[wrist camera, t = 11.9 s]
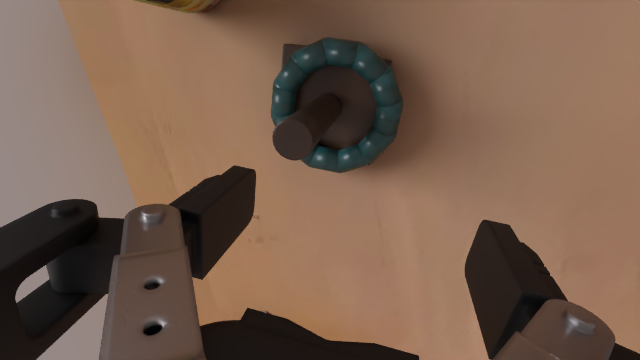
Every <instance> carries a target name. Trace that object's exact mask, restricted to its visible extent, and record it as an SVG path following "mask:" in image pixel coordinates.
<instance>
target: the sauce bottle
mask: <svg viewBox="0 0 640 360" xmlns="http://www.w3.org/2000/svg"><path fill="white" fill-rule="evenodd" d="M134 1H139V2H143V3H147V4H151V5H155V6H159V7H163V8H168V9H172V10H176V11H181V12H186V13H194V12H204V11H208V10H210V9H211V8H213V7H214V6H215V5H216V4H217V3H218V2H219V0H134Z"/></svg>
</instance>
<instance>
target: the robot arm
mask: <svg viewBox="0 0 640 360" xmlns="http://www.w3.org/2000/svg"><path fill="white" fill-rule="evenodd" d="M255 186H256V172H255V170H254V169H249V168H244V167H240V166H233V167H231V168H230V169H229V170H227V171H226V172H225V173H223V174H222V175H216V176H213V177H210V178H207V179H205V180H203V181H202V182H200V183H199V184H198V185H197V186H195V187H193V188H192V189H190V191H188V192H186V193H185V194H183V195H182V196H180V197H179V198H178V199H176V200H175V201H173V202H172V203H170V204H169V205H165V204H150V205H144V206H141V207H138V208H135V209H133V210H132V211H130V212H129V213H128V214H127V215H126V216H125V219H120V218H99V216H98V210H97V206H96V204H95V203H93V202H91V201H88V200H82V199H70V200H62V201H58V202H54V203H50V204H47V205H45V206H43V207H41V208H39V209H37V210H35V211H33V212H31V213H29V214H27V215H25V216H23V217H21V218H19V219H17V220H15V221H13V222H11V223H9V224H7V225H5V226H3V227H1V228H0V360H36V359H37V358H38V357H39V356H40V355H41V354H42V353H44V352H45V351H46V350H47V349H48V348H49V347H50V346H51V345H52V344H53V343H54V342H55V341H56V340H57V339H59V337H61V336H62V335H63V333H65V332H66V331H67V330H68V329H69V328H70V327H71V326H72V325H73V324H74V323H76V321H78V319H80V318H81V317H82V316H83V315H84V314H85V313H86V312H87V311H88V310H89V309H90V308H92V307H93V306H94V305H95V304H96V303H97V302H98V301H99V300H100V299H101V298H102V297H103V296H104V295H105V294H108V300H107V306H106V313H105V320H104V327H103V334H102V340H101V347H100V354H99V360H419V356H418V355H414V354H411V353H407V352H404V351H400V350H396V349H393V348H389V347H386V346H382V345H379V344H375V343H360V342H343V341H330V340H326V339H324V338H322V337H320V336H318V335H316V334H314V333H313V332H311V331H309V330H307V329H305V328H303V327H301V326H299V325H298V324H296V323H294V322H292V321H290V320H288V319H286V318H282V317H279V316H275V315H271V314H268V313H264V312H261V311H257V310H254V309H250V308H247V310H246V311H245V313H244V315H243V317H242V318H241V320H230V321H220V322H214V323H210V324H206V325H202V326H200V325H199V318H198V312H197V306H196V299H195V293H194V286H193V280H192V277H194V278H198V279H201V280H202V279H203V278H204V277H205V276H206V275H207V273H208V272H209V271H210V270H211V269H212V267H213V266H214V265H215V264H216V263H217V261H218V260H219V259H220V258H221V257H222V255H223V254H224V253H225V252H226V251H227V249H228V248H229V247H230V246H231V245H232V243H233V242H234V241H235V240H236V239H237V237H238V236H239V235H240V234H241V233H242V231H243V230H244V229H245V228H246V227H247V225H248V224H249V223H250V221H251V219H252V216H253V212H254V203H255ZM45 265H46V266H47V270H48V274H49V278H50V279H49V280H48V281H46V282H45V283H44V284H42V285H41V286H40V287H38V288H37V289H35V290H34V291H33V292H31V293H30V294H29V295H27V296H26V297H25V298H23V299H22V300H21V301H19V302H18V303H16V301H15V295H16V291H17V289H18V287H19V286H20V284H21V283H22V282H23V281H24V280H25V279H26V278H27V277H29V276H30V275H31V274H33V273H34V272H36V271H37V270H39V269H40V268H42V267H43V266H45ZM465 277H466V281H467V284H468V288H469V291H470V295H471V298H472V302H473V305H474V308H475V312H476V315H477V319H478V322H479V326H480V329H481V333H482V336H483V340H484V343H485V347H486V350H487V353H488V357H489V359H491V360H640V354H639V353H637V352H634V351H632V350H630V349H628V348H625V347H623V346H621V345H619V344H617V343H615V336H614V334H613V332H612V331H611V329H610V328H609V327H608V326H607V325H606V324H605V323H604V322H603V321H602V320H601V319H600V318H598V317H597V316H596V315H594V314H593V313H591V312H590V311H588V310H586V309H585V308H583V307H581V306H579V305H576V304H574V303H571V302H568V300H567V299H566V297H565V296H564V294H563V293H562V291H561V290H560V288H559V287H558V285H557V283H556V282H555V280H554V279H553V277H552V276H550V273H549V271H548V270H547V268H546V267H544V264H543V262H542V261H541V259H540V258H539V256H538V255H537V254H536V253H535V252H534V251H533V250H532V249H530V248H529V247H528V246H527V245H526V244H524V243H522V242H520V241H519V240H518V238H517V236H516V235H515V233H514V231H513V230H512V228H511V227H510V225H507V224H503V223H498V222H493V221H489V220H483V221H482V222H481V223H480V225H479V228H478V230H477V233H476V236H475V238H474V241H473V243H472V246H471V248H470V251H469V254H468V256H467V259H466V263H465Z"/></svg>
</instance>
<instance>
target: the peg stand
mask: <svg viewBox="0 0 640 360" xmlns="http://www.w3.org/2000/svg"><path fill="white" fill-rule="evenodd" d="M304 47H306V46H301V45H295V44H284V46H283V58H282V68H283V67H284V65H285V64H286V62H287V61H288V59H289V58H290V56H291V55H292V54H293V53H294V52H295V51H297V50H299V49H302V48H304ZM382 59H383V60H384V61H385V62H387V63H388V64H389V65H390V66H391V63H392V60H391V59H384V58H382ZM281 70H282V69H281ZM376 109H377V104H376V101H375V98H374V95H373V92H372V89H371V87H370V84H369V83H368V82H367V81H366V80H364V79H363V78H362V77H361V76H360V75H359V74H357V73H356V72H355V71H354V70H353V69H350V68H343V67H337V66H331V65H329V66H327V67H324V68H322V69H320V70H317V71H315V72H313V73H310V74H309V75H308V76H307V78H306V79H305V81H304V82H303V83H302V85H301V86H300V88H299V89H298V90H297V93H296V103H295V113H293V114H292V115H290V116H289V117H287V118H286V119H284V120H283V121H281V122H280V123H279V124H278V125H277V126H276V127H275V129H274V132H273V144H274V147H275V149H276V150H277V152H278V153H279V154H280V155H281V156H283V157H285V158H287V159H290V160H300V159H303V158H305V157H306V156H307V155H308V154H309V153H310V152H311V151H312V149H313V148H314V147H315V146H316V144H317V145H318V146H322V147H327V148H332V149H338V150H340V149H343V148H346V147H349V146H352V145H355V144H358V143H360V141H361V140H362V139H363V138H364V137H365V136H366V135H367V133H368V132H369V131H370V130H371V129H372V128H373V124H374V119H375V114H376ZM369 165H370V164H369Z"/></svg>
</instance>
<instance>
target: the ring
mask: <svg viewBox="0 0 640 360" xmlns="http://www.w3.org/2000/svg"><path fill="white" fill-rule="evenodd" d="M329 65H331V66H337V67H343V68H350V69H353V70H354V71H355V72H356V73H357V74H359V75H360V76H361V77H362V78H363V79H364V80H366V81H367V82H368V83H369V84H370V87H371V89H372V92H373V95H374V98H375V101H376V104H377V109H376V114H375V119H374V124H373V128H372V129H371V130H370V131H369V132H368V133H367V135H366V136H365V137H364V138H363V139H362V140H361V141H360V143H358V144H355V145H352V146H349V147H346V148H343V149H340V150H338V149H332V148H327V147H322V146H318V145H317V144H316V146H315V147H314V148H313V149H312V151H311V152H310V153H309V154H308V155H307V156H306V157H305V158H303V159H300V160H301V161H303V162H304V163H305V164H306V165H308V166H309V167H312V168H317V169H322V170H327V171H332V172H337V173H343V172H346V171H350V170H353V169H356V168H359V167H362V166H366V165H369V164H371V163H373V162H374V161H375V160H376V159H377V158H378V157H379V155H380V154H381V153H382V152H383V151H384V150H385V149H386V148H387V147H388V146H389V145H390V144H391V143H392V142H393V140H394V139H395V137H396V134H397V129H398V125H399V121H400V116H401V112H402V108H403V100H402V97H401V94H400V90H399V87H398V84H397V81H396V78H395V75H394V72H393V69H392V67H391V66H390V65H389V64H388V63H387V62H385V61H384V60H383V59H382V58H381V57H380V56H378V55H377V54H376V53H375V52H374V51H373V50H371V49H370V48H369V47H368V46H367V45H366V44H364V43H362V42H356V41H349V40H343V39H336V38H324V39H321V40H319V41H317V42H315V43H312V44H310V45H308V46H306V47H304V48H302V49H299V50H297V51H295V52H294V53H293V54H292V55H291V56H290V58H289V59H288V61H287V62H286V64H285V65H284V67H283V68H282V70H281V71H280V73H279V74H278V76H277V77H276V79H275V80H274V83H273V93H272V107H271V117H272V120H273V122H274V125H275V127H276V126H277V125H278V124H279V123H280V122H281V121H283V120H284V119H286V118H287V117H289V116H290V115H292V114H293V113H295V103H296V93H297V90H298V89H299V88H300V86H301V85H302V83H303V82H304V81H305V79H306V78H307V76H308V75H309V74H310V73H313V72H315V71H317V70H320V69H322V68H324V67H327V66H329Z"/></svg>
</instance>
